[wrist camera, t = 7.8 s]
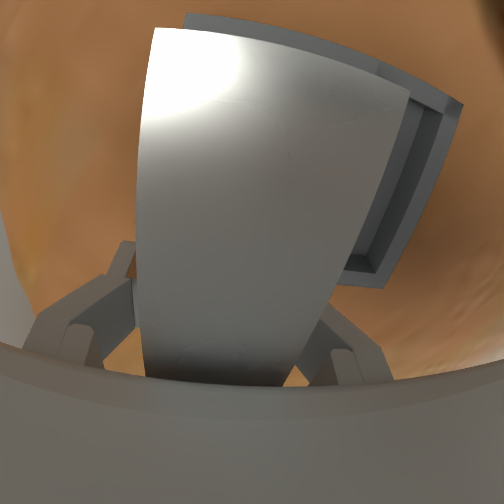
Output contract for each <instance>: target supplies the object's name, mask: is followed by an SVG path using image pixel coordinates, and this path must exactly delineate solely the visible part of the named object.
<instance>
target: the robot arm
mask: <svg viewBox="0 0 504 504" xmlns="http://www.w3.org/2000/svg"><path fill="white" fill-rule="evenodd" d="M135 327H140V320H139V307H138V292H137V271H136V242H133V241H125V240H124V241H122V242H121V243H120V246H119V248H118V250H117V252H116V254H115V256H114V258H113V261H112V263H111V265H110V267H109V269H108V272H107V274H106V275H104V274H101V275H99V276H98V277H96V278H94V279H93V280H91V281H89V282H88V283H86V284H84V285H83V286H81V287H80V288H78V289H76V290H75V291H73V292H72V293H70V294H68V295H67V296H65V297H64V298H62V299H60V300H59V301H57V302H56V303H54V304H53V305H51V306H49V307H48V308H46V309H45V310H43V311H42V312H40V313H39V314H38V316H37V318H36V320H35V322H34V324H33V326H32V328H31V330H30V333H29V334H28V337H27V339H26V341H25V343H24V345H23V348H22V349H21V348H17V347H14V346H11V345H8V344H5V343H2V342H0V504H504V359H502V360H498V361H494V362H490V363H486V364H482V365H478V366H474V367H469V368H465V369H460V370H455V371H450V372H444V373H439V374H433V375H427V376H421V377H414V378H407V379H400V380H394V379H393V376H392V374H391V371H390V369H389V366H388V364H387V361H386V359H385V356H384V354H383V352H382V349H381V347H380V346H379V345H377V344H376V343H375V342H374V341H373V340H372V339H370V338H369V337H368V336H367V335H366V334H365V333H363V332H362V331H361V330H360V329H359V328H357V327H356V326H355V325H354V324H353V323H352V322H350V321H349V320H348V319H347V318H346V317H344V316H343V315H342V314H341V313H340V312H339V311H337V310H336V309H335V308H334V307H333V306H331V305H330V304H329V303H328V302H327V304H326V306H325V308H324V310H323V312H322V314H321V316H320V318H319V320H318V322H317V324H316V326H315V328H314V330H313V332H312V334H311V336H310V337H309V339H308V341H307V343H306V345H305V347H304V349H303V350H302V352H301V354H300V356H299V358H298V360H297V361H296V363H295V365H296V366H297V368H298V369H299V370H300V371H301V373H302V374H303V375H304V376H305V378H306V379H307V380H308V381H309V383H310V384H309V385H308V386H306V387H260V386H234V385H218V384H205V383H194V382H184V381H175V380H166V379H159V378H151V377H145V376H138V375H132V374H126V373H120V372H114V371H109V370H105V368H104V365H103V360H104V359H105V358H106V357H107V356H108V355H109V354H110V353H111V352H112V351H113V350H114V349H115V348H116V347H117V346H118V345H119V344H120V343H121V342H122V341H123V340H124V339H125V338H126V337H127V336H128V335H129V334H130V333H131V332H132V331H133V330H134V329H135Z"/></svg>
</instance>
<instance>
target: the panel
mask: <svg viewBox="0 0 504 504" xmlns="http://www.w3.org/2000/svg"><path fill="white" fill-rule="evenodd" d="M410 93H411V91H410V90H408V89H406V88H404V87H402V86H399V85H397V84H395V83H393V82H390V81H388V80H386V79H383V78H381V77H379V76H376V75H374V74H371V73H369V72H366V71H364V70H361V69H358V68H356V67H353V66H350V65H347V64H345V63H342V62H339V61H336V60H333V59H330V58H326V57H323V56H320V55H317V54H313V53H310V52H306V51H303V50H299V49H295V48H291V47H287V46H283V45H279V44H275V43H270V42H266V41H261V40H256V39H251V38H245V37H240V36H233V35H227V34H220V33H212V32H204V31H194V30H183V29H167V28H155V33H154V38H153V43H152V48H151V54H150V60H149V66H148V72H147V78H146V85H145V93H144V100H143V109H142V118H141V128H140V139H139V151H138V167H137V187H136V271H137V292H138V307H139V320H140V332H141V342H142V351H143V359H144V367H145V375H146V377H151V378H159V379H166V380H175V381H184V382H194V383H205V384H218V385H234V386H260V387H282V386H283V384H284V382H285V381H286V379H287V377H288V375H289V374H290V372H291V370H292V368H293V367H294V365H295V363H296V361H297V360H298V358H299V356H300V354H301V352H302V350H303V349H304V347H305V345H306V343H307V341H308V339H309V337H310V336H311V334H312V332H313V330H314V328H315V326H316V324H317V322H318V320H319V318H320V316H321V314H322V312H323V310H324V308H325V306H326V304H327V302H328V300H329V298H330V296H331V294H332V292H333V290H334V288H335V286H336V284H337V282H338V280H339V278H340V276H341V273H342V271H343V269H344V267H345V265H346V263H347V260H348V258H349V256H350V254H351V252H352V249H353V247H354V245H355V243H356V240H357V238H358V236H359V233H360V231H361V229H362V226H363V224H364V222H365V219H366V217H367V214H368V212H369V209H370V207H371V205H372V202H373V200H374V197H375V195H376V192H377V189H378V187H379V184H380V182H381V179H382V176H383V174H384V171H385V168H386V166H387V163H388V160H389V157H390V154H391V152H392V149H393V146H394V143H395V140H396V137H397V134H398V131H399V128H400V125H401V122H402V119H403V116H404V113H405V109H406V106H407V103H408V100H409V96H410Z"/></svg>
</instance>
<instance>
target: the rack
mask: <svg viewBox="0 0 504 504" xmlns="http://www.w3.org/2000/svg"><path fill="white" fill-rule="evenodd" d="M183 30H194V31H204V32H212V33H220V34H227V35H233V36H240V37H245V38H251V39H256V40H261V41H266V42H270V43H275V44H279V45H283V46H287V47H291V48H295V49H299V50H303V51H306V52H310V53H313V54H317V55H320V56H323V57H326V58H330V59H333V60H336V61H339V62H342V63H345V64H347V65H350V66H353V67H356V68H358V69H361V70H364V71H366V72H369V73H371V74H374V75H376V76H379V77H381V78H383V79H386V80H388V81H390V82H393V83H395V84H397V85H399V86H402V87H404V88H406V89H408V90H410V91H411V93H410V96H409V100H408V103H407V106H406V109H405V113H404V116H403V119H402V122H401V125H400V128H399V131H398V134H397V137H396V140H395V143H394V146H393V149H392V152H391V154H390V157H389V160H388V163H387V166H386V168H385V171H384V174H383V176H382V179H381V182H380V184H379V187H378V189H377V192H376V195H375V197H374V200H373V202H372V205H371V207H370V209H369V212H368V214H367V217H366V219H365V222H364V224H363V226H362V229H361V231H360V233H359V236H358V238H357V240H356V243H355V245H354V247H353V249H352V252H351V254H350V256H349V258H348V260H347V263H346V265H345V267H344V269H343V271H342V273H341V276H340V278H339V280H338V282H337V284H338V285H348V286H359V287H370V288H381V289H383V288H384V286H385V284H386V282H387V281H388V279H389V277H390V275H391V273H392V272H393V270H394V268H395V266H396V264H397V262H398V261H399V259H400V257H401V255H402V253H403V251H404V249H405V247H406V245H407V243H408V241H409V239H410V237H411V235H412V233H413V231H414V229H415V227H416V225H417V223H418V221H419V219H420V217H421V214H422V212H423V210H424V208H425V206H426V203H427V201H428V199H429V197H430V194H431V192H432V190H433V187H434V185H435V183H436V180H437V178H438V175H439V173H440V170H441V168H442V165H443V163H444V160H445V158H446V155H447V152H448V150H449V147H450V144H451V141H452V138H453V136H454V133H455V130H456V127H457V124H458V121H459V118H460V114H461V111H462V108H463V104H462V103H460V102H458V101H457V100H455V99H454V98H452V97H450V96H449V95H447V94H445V93H444V92H442V91H440V90H438V89H437V88H435V87H433V86H431V85H429V84H427V83H426V82H424V81H422V80H420V79H418V78H416V77H414V76H412V75H410V74H408V73H406V72H404V71H402V70H400V69H398V68H396V67H393V66H391V65H389V64H387V63H385V62H382V61H380V60H378V59H375V58H373V57H370V56H368V55H365V54H363V53H360V52H358V51H355V50H353V49H350V48H347V47H344V46H342V45H339V44H336V43H333V42H330V41H327V40H324V39H320V38H317V37H314V36H310V35H307V34H304V33H300V32H296V31H292V30H288V29H284V28H280V27H276V26H272V25H267V24H262V23H257V22H252V21H247V20H241V19H235V18H228V17H221V16H213V15H205V14H194V13H186V16H185V20H184V24H183Z"/></svg>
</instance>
